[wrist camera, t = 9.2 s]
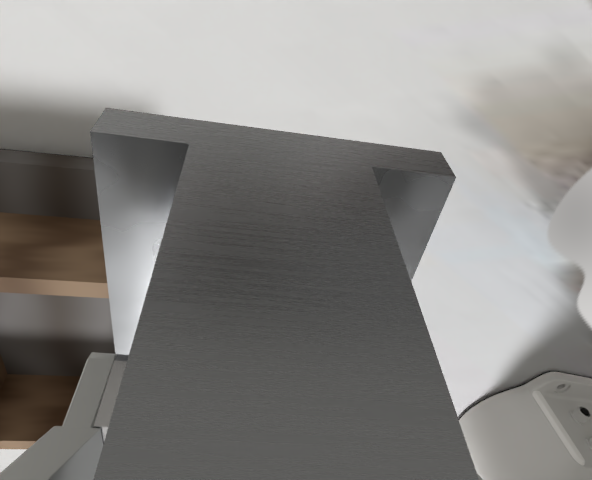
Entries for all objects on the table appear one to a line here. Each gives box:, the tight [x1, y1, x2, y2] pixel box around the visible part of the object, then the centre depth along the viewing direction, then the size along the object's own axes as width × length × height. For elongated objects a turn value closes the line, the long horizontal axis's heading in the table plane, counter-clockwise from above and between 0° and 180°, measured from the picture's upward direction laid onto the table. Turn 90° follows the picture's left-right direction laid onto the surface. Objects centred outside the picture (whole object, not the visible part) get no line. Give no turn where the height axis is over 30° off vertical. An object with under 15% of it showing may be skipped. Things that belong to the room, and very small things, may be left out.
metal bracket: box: [90, 108, 479, 480], centre depth 10 cm, size 8×8×10 cm
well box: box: [0, 149, 115, 449], centre depth 35 cm, size 20×26×8 cm
